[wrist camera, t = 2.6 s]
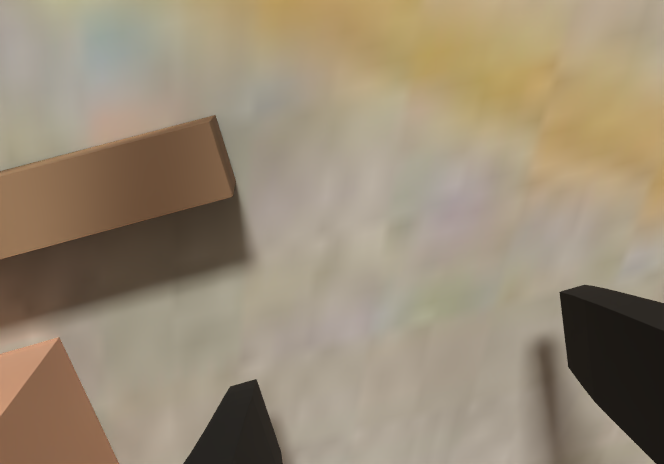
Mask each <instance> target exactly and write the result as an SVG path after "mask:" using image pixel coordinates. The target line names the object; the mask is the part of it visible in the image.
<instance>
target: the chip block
mask: <svg viewBox="0 0 664 464" xmlns="http://www.w3.org/2000/svg"><path fill="white" fill-rule="evenodd" d="M0 464H119V463H118V460H117V458H116V456H115V454H114V452H113V450H112V448H111V446H110V444H109V441H108V439H107V437H106V435H105V433H104V431H103V429H102V427H101V425H100V422H99V420H98V418H97V416H96V414H95V412H94V410H93V408H92V405H91V403H90V401H89V399H88V397H87V395H86V393H85V391H84V389H83V386H82V384H81V382H80V380H79V378H78V376H77V374H76V372H75V369H74V367H73V365H72V363H71V361H70V359H69V357H68V355H67V353H66V350H65V348H64V346H63V344H62V342H61V340H60V338H59V337H58V338H55V339H51V340H48V341H44V342H41V343H37V344H34V345H30V346H27V347H23V348H20V349H16V350H13V351H9V352H6V353H2V354H0Z"/></svg>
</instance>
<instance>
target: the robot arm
mask: <svg viewBox="0 0 664 464" xmlns="http://www.w3.org/2000/svg"><path fill="white" fill-rule="evenodd" d="M560 300H561V308H562V317H563V326H564V334H565V343H566V351H567V360H568V367H569V369H570V370H571V371H572V373H573V374H574V375H575V377H576V378H577V379H578V381H579V382H580V384H581V385H582V386H583V388H584V389H585V390H586V391H587V393H588V394H589V395H590V396H591V398H592V399H593V400H594V402H595V403H596V404H597V405H598V406H599V407H600V408H601V409H602V410H603V411H604V412H605V413H606V414H607V415H608V416H609V417H610V418H611V419H612V420H613V421H614V422H615V423H616V424H617V425H618V426H619V427H620V428H621V429H622V430H623V431H624V432H625V433H626V434H627V435H628V436H629V437H630V438H631V439H632V440H633V441H634V442H635V443H636V444H637V445H638V446H639V447H640V448H641V449H642V450H643V451H644V452H645V453H646V454H647V455H648V456H649V457H650V458H651V459H652V460H653V461H654V462H655V463H656V464H664V303H661V302H657V301H653V300H649V299H645V298H641V297H637V296H633V295H629V294H625V293H621V292H617V291H613V290H609V289H605V288H600V287H595V286H589V285H582V286H579V287H575V288H572V289H568V290H565V291H561V292H560ZM184 464H283V463H282V456H281V450H280V447H279V444H278V441H277V438H276V435H275V433H274V430H273V427H272V424H271V421H270V418H269V415H268V412H267V409H266V406H265V403H264V400H263V397H262V394H261V391H260V388H259V385H258V382H257V379H255V380H252V381H248V382H245V383H241V384H238V385H234V386H231V387H230V388H229V389H228V391H227V393H226V394H225V396H224V398H223V399H222V401H221V403H220V405H219V406H218V408H217V410H216V412H215V413H214V415H213V417H212V419H211V420H210V422H209V424H208V425H207V427H206V429H205V431H204V432H203V434H202V435H201V437H200V439H199V440H198V442H197V444H196V445H195V447H194V449H193V450H192V452H191V453H190V455H189V456H188V458H187V459H186V461H185V462H184Z"/></svg>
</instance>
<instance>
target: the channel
mask: <svg viewBox="0 0 664 464" xmlns="http://www.w3.org/2000/svg"><path fill="white" fill-rule="evenodd" d="M235 183H236V180H235V177H234V174H233V171H232V167H231V164H230V161H229V158H228V154H227V151H226V148H225V145H224V141H223V138H222V135H221V132H220V129H219V125H218V122H217V119H216V116H215V115H214V116H210V117H206V118H202V119H199V120H195V121H191V122H187V123H183V124H180V125H176V126H172V127H168V128H164V129H160V130H157V131H153V132H149V133H145V134H141V135H137V136H134V137H130V138H126V139H122V140H118V141H115V142H111V143H107V144H103V145H99V146H95V147H92V148H88V149H84V150H80V151H76V152H72V153H69V154H65V155H61V156H57V157H53V158H50V159H46V160H42V161H38V162H34V163H30V164H27V165H23V166H19V167H15V168H11V169H7V170H4V171H0V259H4V258H7V257H11V256H15V255H18V254H22V253H26V252H29V251H33V250H37V249H41V248H44V247H48V246H52V245H55V244H59V243H63V242H67V241H70V240H74V239H78V238H81V237H85V236H89V235H93V234H96V233H100V232H104V231H107V230H111V229H115V228H119V227H122V226H126V225H130V224H133V223H137V222H141V221H145V220H148V219H152V218H156V217H159V216H163V215H167V214H170V213H174V212H178V211H182V210H185V209H189V208H193V207H196V206H200V205H204V204H208V203H211V202H215V201H219V200H222V199H226V198H230V197H233V192H234V188H235Z"/></svg>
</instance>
